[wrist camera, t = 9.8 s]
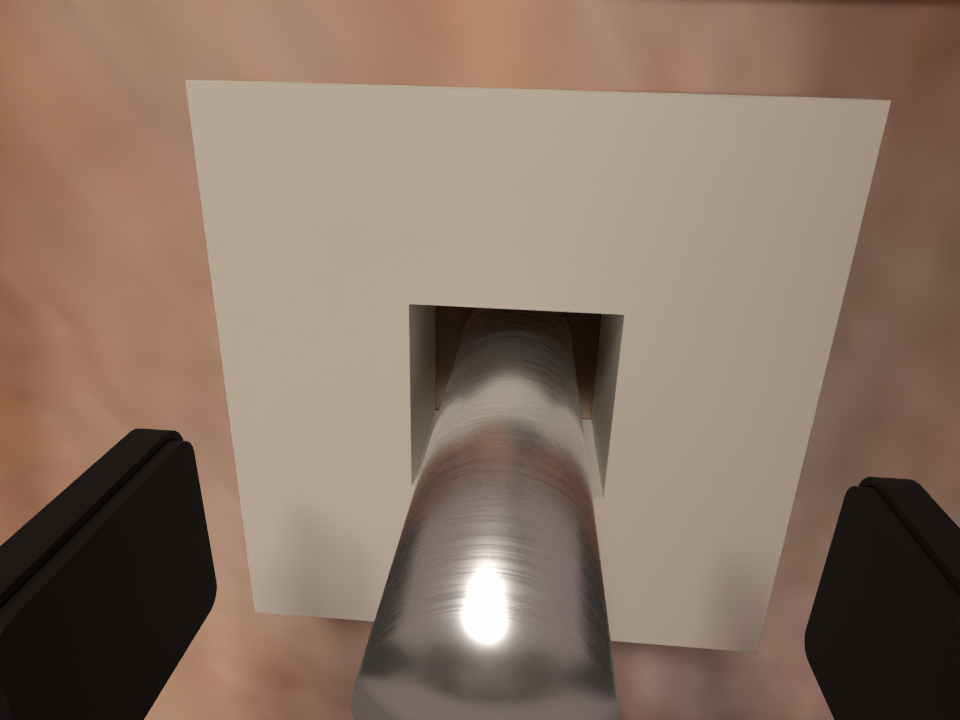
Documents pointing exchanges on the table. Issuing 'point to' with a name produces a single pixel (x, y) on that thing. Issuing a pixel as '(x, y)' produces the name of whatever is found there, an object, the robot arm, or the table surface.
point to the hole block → (530, 286)
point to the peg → (497, 547)
